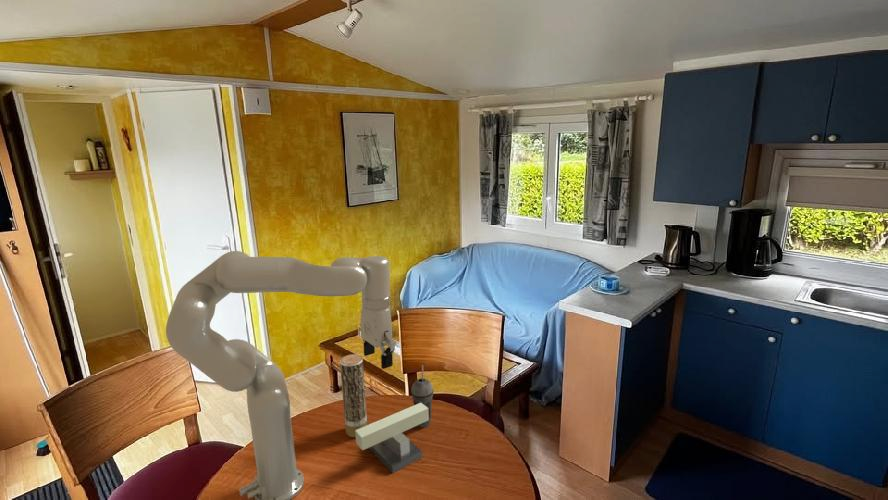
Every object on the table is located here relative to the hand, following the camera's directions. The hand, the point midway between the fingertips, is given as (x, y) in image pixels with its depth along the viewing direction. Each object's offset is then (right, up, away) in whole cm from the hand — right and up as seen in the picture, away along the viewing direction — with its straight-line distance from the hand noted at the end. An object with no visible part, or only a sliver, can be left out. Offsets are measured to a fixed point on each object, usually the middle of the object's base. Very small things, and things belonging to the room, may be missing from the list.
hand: (377, 360), depth 122 cm
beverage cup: (+12, -26, +21) cm, 35 cm away
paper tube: (-9, -27, +17) cm, 33 cm away
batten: (+4, -22, +6) cm, 23 cm away
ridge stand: (+4, -29, +7) cm, 30 cm away
